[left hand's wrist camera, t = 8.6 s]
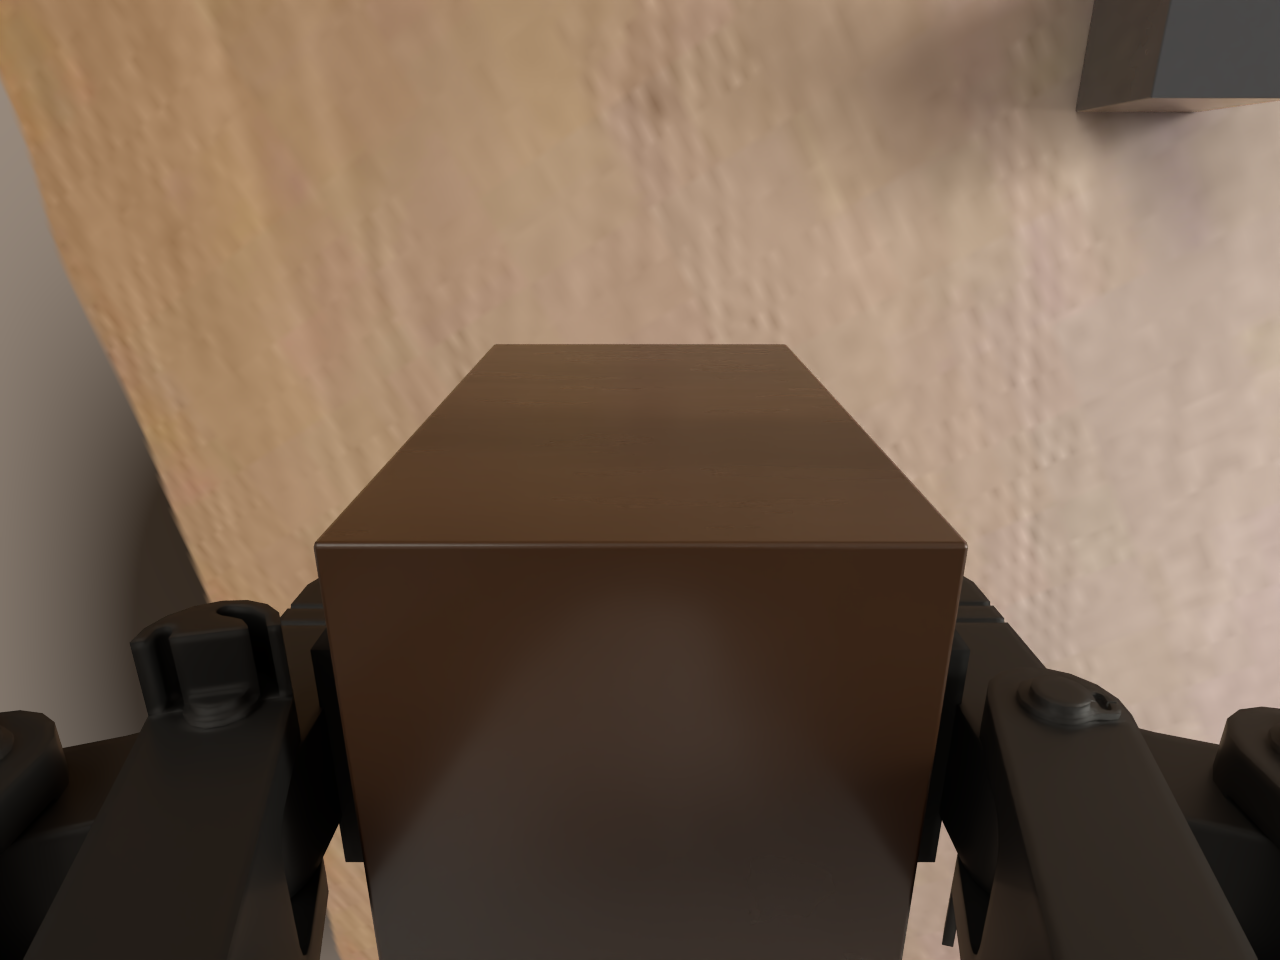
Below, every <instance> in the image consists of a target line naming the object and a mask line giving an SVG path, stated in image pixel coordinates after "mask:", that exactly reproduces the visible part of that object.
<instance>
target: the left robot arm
mask: <svg viewBox="0 0 1280 960" xmlns="http://www.w3.org/2000/svg"><path fill="white" fill-rule="evenodd" d="M130 646H131V650H132V654H133V658H134V662H135V666H136V669H137V673H138V677H139V681H140V685H141V689H142V693H143V696H144V700H145V704H146V708H147V712H148V718H147V720H146V722H145V724H144V726H143V727H142V729H141V731H140V732H139V733H136V734H132V735H128V736H123V737H118V738H113V739H107V740H102V741H97V742H92V743H87V744H82V745H76V746H71V747H66V748H62V745H61V742H60V739H59V735H58V732H57V729H56V726H55V722H54V721H52V720H51V719H49V718H48V717H47V716H45V715H44V714H43V713H37V712H29V711H21V710H18V711H10V712H1V713H0V960H320V953H321V945H322V938H323V930H324V922H325V915H326V907H327V899H328V885H327V877H326V871H325V866H324V860H323V856H324V854H325V852H326V850H327V848H328V846H329V843H330V841H331V839H332V837H333V835H334V833H335V831H336V829H337V827H338V824H339V825H340V831H341V837H342V843H343V849H344V855H345V861H346V862H364V861H363V854H362V848H361V842H360V836H359V829H358V823H357V817H356V810H355V804H354V798H353V791H352V785H351V779H350V773H349V766H348V760H347V754H346V747H345V741H344V735H343V729H342V722H341V716H340V710H339V703H338V697H337V691H336V684H335V678H334V672H333V666H332V659H331V653H330V647H329V640H328V634H327V628H326V622H325V615H324V609H323V603H322V596H321V590H320V584H319V578H318V579H316V580H315V581H313V582H311V583H310V584H308V585H307V586H306V587H305V588H304V590H303V591H302V592H301V593H300V594H299V596H298V597H297V598H296V599H295V600H294V602H293V603H292V604H291V609H287V610H286V611H285V612H284V614H283V615H282V616H281V617H280V616H279V612H278V611H276V610H275V609H273V608H272V607H271V606H269V605H268V604H264V603H259V602H254V601H249V600H235V601H219V602H214V603H208V604H203V605H198V606H193V607H190V608H188V609H185V610H182V611H179V612H176V613H173V614H170V615H168V616H166V617H164V618H162V619H160V620H158V621H157V622H155V623H153V624H151V625H149V626H148V627H146V628H144V629H143V630H142V631H141V632H140V633H139V634H138V635H137V636H136V637H135V638H134V639H133V640H132V641H131V642H130ZM942 821H943V823H944V826H945V828H946V830H947V832H948V834H949V836H950V838H951V840H952V842H953V844H954V847H955V849H956V851H957V853H958V855H957V860H956V866H955V871H954V877H953V882H952V888H951V893H950V899H949V905H948V910H947V916H946V921H945V927H944V934H943V941H942V945H946V946H951V947H953V944H954V939H955V933H956V930H957V936H958V944H959V951H960V959H961V960H1280V709H1278V708H1269V707H1255V708H1248V709H1240V710H1238V711H1237V712H1236V713H1234V714H1233V715H1231V716H1230V717H1229V718H1227V721H1226V725H1225V728H1224V731H1223V734H1222V738H1221V741H1220V744H1219V745H1218V744H1213V743H1207V742H1202V741H1197V740H1192V739H1187V738H1181V737H1176V736H1171V735H1166V734H1161V733H1156V732H1152V731H1148V730H1144V729H1140V728H1138V726H1137V724H1136V722H1135V720H1134V718H1133V716H1132V715H1131V713H1130V712H1129V711H1128V710H1127V709H1126V707H1125V706H1124V705H1123V704H1122V703H1121V701H1120V700H1119V699H1118V698H1116V697H1115V696H1113V695H1112V694H1110V693H1109V692H1107V691H1106V690H1104V689H1103V688H1101V687H1100V686H1098V685H1096V684H1094V683H1092V682H1089V681H1087V680H1084V679H1082V678H1079V677H1077V676H1075V675H1072V674H1069V673H1064V672H1060V671H1055V670H1051V669H1046V668H1045V666H1044V665H1043V664H1042V663H1041V662H1040V660H1039V659H1038V658H1037V657H1036V656H1035V654H1034V653H1033V652H1032V651H1031V650H1030V649H1029V647H1028V646H1027V645H1026V644H1025V643H1024V641H1023V640H1022V639H1021V638H1020V637H1019V636H1018V634H1017V633H1016V632H1015V631H1014V630H1013V628H1012V627H1011V626H1010V625H1009V624H1008V623H1004V618H1003V617H1002V615H1001V614H1000V613H999V612H998V611H997V609H996V608H995V607H994V606H990V601H989V600H988V599H987V598H986V596H985V595H984V594H983V593H982V592H981V591H980V589H979V588H978V587H977V586H976V585H975V583H974V582H972V581H971V580H969V579H967V578H966V577H964V576H963V581H962V587H961V594H960V600H959V606H958V612H957V619H956V625H955V631H954V637H953V644H952V650H951V656H950V662H949V668H948V675H947V681H946V687H945V693H944V700H943V706H942V712H941V718H940V725H939V731H938V737H937V743H936V749H935V756H934V762H933V768H932V774H931V781H930V787H929V793H928V799H927V806H926V812H925V818H924V824H923V830H922V837H921V843H920V849H919V855H918V862H935V858H936V852H937V846H938V840H939V834H940V828H941V822H942Z"/></svg>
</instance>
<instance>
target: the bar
mask: <svg viewBox="0 0 1280 960" xmlns="http://www.w3.org/2000/svg"><path fill="white" fill-rule="evenodd" d="M967 550H968V546H967V542H966V541H965V540H964V539H963V538H962V537H961V536H960V535H959V534H958V533H957V532H956V530H955V529H954V528H953V527H952V526H951V525H950V524H949V523H948V522H947V521H946V519H945V518H944V517H943V516H942V515H941V514H940V513H939V512H938V511H937V510H936V509H935V507H934V506H933V505H932V504H931V503H930V502H929V501H928V500H927V499H926V498H925V496H924V495H923V494H922V493H921V492H920V491H919V490H918V489H917V488H916V487H915V486H914V484H913V483H912V482H911V481H910V480H909V479H908V478H907V477H906V476H905V475H904V473H903V472H902V471H901V470H900V469H899V468H898V467H897V466H896V465H895V464H894V463H893V461H892V460H891V459H890V458H889V457H888V456H887V455H886V454H885V453H884V452H883V450H882V449H881V448H880V447H879V446H878V445H877V444H876V443H875V442H874V441H873V440H872V438H871V437H870V436H869V435H868V434H867V433H866V432H865V431H864V430H863V429H862V427H861V426H860V425H859V424H858V423H857V422H856V421H855V420H854V419H853V418H852V417H851V415H850V414H849V413H848V412H847V411H846V410H845V409H844V408H843V407H842V406H841V405H840V403H839V402H838V401H837V400H836V399H835V398H834V397H833V396H832V395H831V394H830V392H829V391H828V390H827V389H826V388H825V387H824V386H823V385H822V384H821V383H820V382H819V380H818V379H817V378H816V377H815V376H814V375H813V374H812V373H811V372H810V371H809V369H808V368H807V367H806V366H805V365H804V364H803V363H802V362H801V361H800V360H799V359H798V357H797V356H796V355H795V354H794V353H793V352H792V351H791V350H790V349H789V348H788V346H787V345H784V344H496V345H494V346H493V347H492V348H491V349H490V350H489V351H488V352H487V353H486V355H485V356H484V357H483V358H482V359H481V360H480V361H479V362H478V363H477V364H476V366H475V367H474V368H473V369H472V370H471V371H470V372H469V373H468V374H467V375H466V377H465V378H464V379H463V380H462V381H461V382H460V383H459V384H458V385H457V386H456V388H455V389H454V390H453V391H452V392H451V393H450V394H449V395H448V396H447V398H446V399H445V400H444V401H443V402H442V403H441V404H440V405H439V406H438V407H437V409H436V410H435V411H434V412H433V413H432V414H431V415H430V416H429V417H428V418H427V420H426V421H425V422H424V423H423V424H422V425H421V426H420V427H419V428H418V429H417V431H416V432H415V433H414V434H413V435H412V436H411V437H410V438H409V439H408V441H407V442H406V443H405V444H404V445H403V446H402V447H401V448H400V449H399V450H398V452H397V453H396V454H395V455H394V456H393V457H392V458H391V459H390V460H389V461H388V463H387V464H386V465H385V466H384V467H383V468H382V469H381V470H380V471H379V472H378V474H377V475H376V476H375V477H374V478H373V479H372V480H371V481H370V482H369V484H368V485H367V486H366V487H365V488H364V489H363V490H362V491H361V492H360V493H359V495H358V496H357V497H356V498H355V499H354V500H353V501H352V502H351V503H350V504H349V506H348V507H347V508H346V509H345V510H344V511H343V512H342V513H341V514H340V515H339V517H338V518H337V519H336V520H335V521H334V522H333V523H332V524H331V525H330V527H329V528H328V529H327V530H326V531H325V532H324V533H323V534H322V535H321V536H320V538H319V539H318V540H317V541H316V542H315V544H314V552H315V559H316V565H317V571H318V577H319V584H320V590H321V596H322V603H323V609H324V615H325V622H326V628H327V634H328V640H329V647H330V653H331V659H332V666H333V672H334V678H335V684H336V691H337V697H338V703H339V710H340V716H341V722H342V729H343V735H344V741H345V747H346V754H347V760H348V766H349V773H350V779H351V785H352V791H353V798H354V804H355V810H356V817H357V823H358V829H359V836H360V842H361V848H362V854H363V861H364V867H365V873H366V880H367V886H368V892H369V898H370V905H371V911H372V917H373V924H374V930H375V936H376V943H377V949H378V955H379V960H902V955H903V949H904V943H905V936H906V930H907V924H908V918H909V911H910V905H911V899H912V893H913V886H914V880H915V874H916V868H917V862H918V855H919V849H920V843H921V837H922V830H923V824H924V818H925V812H926V806H927V799H928V793H929V787H930V781H931V774H932V768H933V762H934V756H935V749H936V743H937V737H938V731H939V725H940V718H941V712H942V706H943V700H944V693H945V687H946V681H947V675H948V668H949V662H950V656H951V650H952V644H953V637H954V631H955V625H956V619H957V612H958V606H959V600H960V594H961V587H962V581H963V575H964V569H965V563H966V556H967Z"/></svg>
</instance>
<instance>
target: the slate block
mask: <svg viewBox="0 0 1280 960" xmlns="http://www.w3.org/2000/svg"><path fill="white" fill-rule="evenodd" d="M1273 101H1280V0H1095V2H1094V8H1093V14H1092V19H1091V25H1090V31H1089V37H1088V43H1087V48H1086V54H1085V60H1084V66H1083V72H1082V77H1081V83H1080V89H1079V95H1078V101H1077V106H1076V111H1077V112H1201V111H1208V110H1215V109H1223V108H1230V107H1237V106H1244V105H1251V104H1258V103H1265V102H1273Z"/></svg>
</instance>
